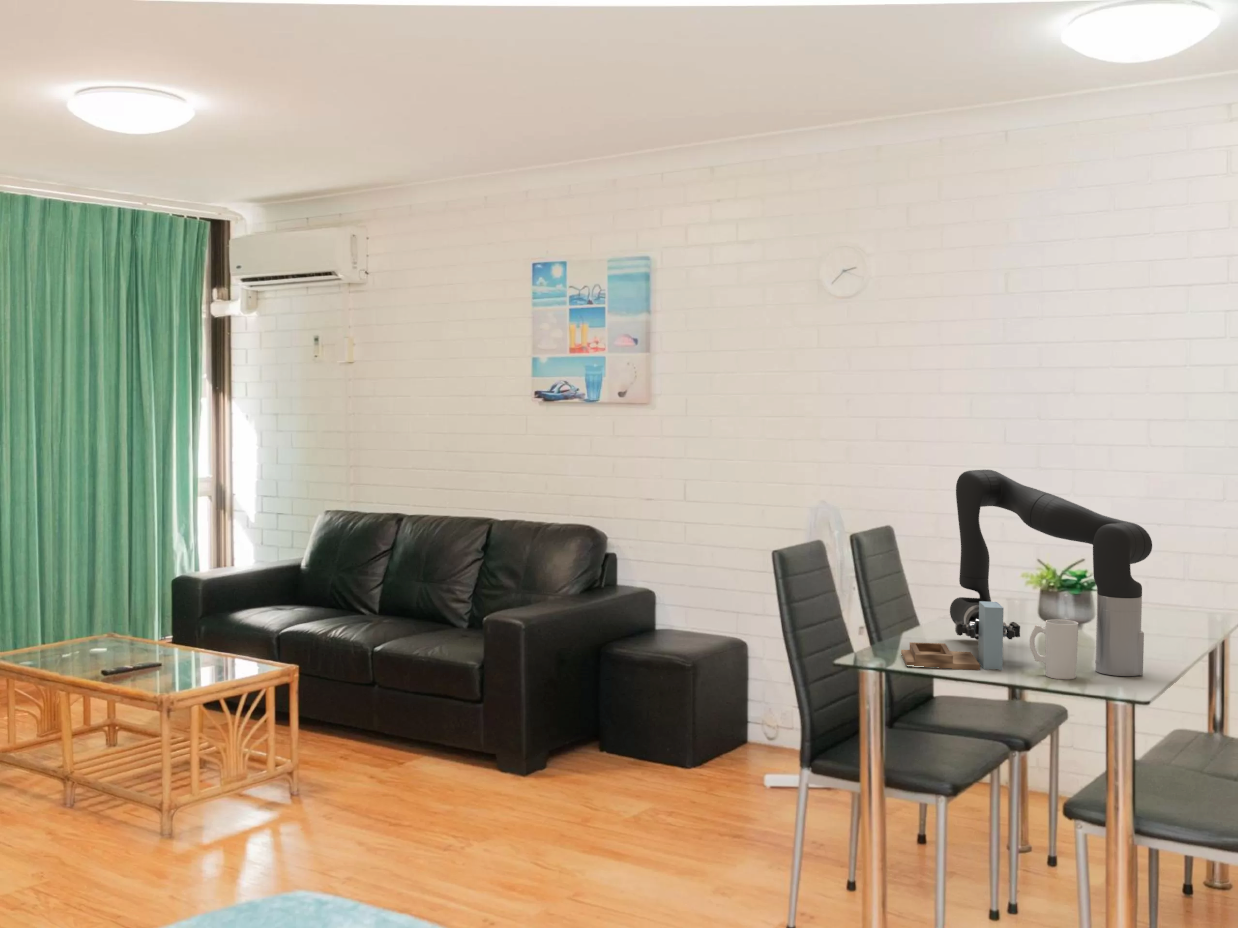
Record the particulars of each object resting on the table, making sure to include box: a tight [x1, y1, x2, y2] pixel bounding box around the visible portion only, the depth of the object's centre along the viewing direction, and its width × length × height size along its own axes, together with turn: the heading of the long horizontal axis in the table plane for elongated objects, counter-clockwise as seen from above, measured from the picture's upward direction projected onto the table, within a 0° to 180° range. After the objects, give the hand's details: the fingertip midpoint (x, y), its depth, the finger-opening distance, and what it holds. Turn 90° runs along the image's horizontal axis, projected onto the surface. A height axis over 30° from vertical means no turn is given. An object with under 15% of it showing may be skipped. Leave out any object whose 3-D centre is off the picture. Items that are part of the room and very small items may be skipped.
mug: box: [1029, 619, 1079, 680], centre depth 267 cm, size 10×7×12 cm, turn 60°
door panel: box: [977, 601, 1004, 671], centre depth 278 cm, size 4×9×14 cm, turn 172°
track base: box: [900, 641, 981, 671], centre depth 282 cm, size 16×15×3 cm
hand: (991, 634), depth 276 cm, fingers open, 8 cm apart
